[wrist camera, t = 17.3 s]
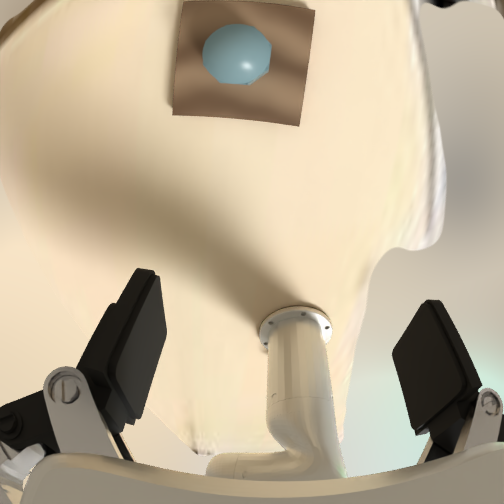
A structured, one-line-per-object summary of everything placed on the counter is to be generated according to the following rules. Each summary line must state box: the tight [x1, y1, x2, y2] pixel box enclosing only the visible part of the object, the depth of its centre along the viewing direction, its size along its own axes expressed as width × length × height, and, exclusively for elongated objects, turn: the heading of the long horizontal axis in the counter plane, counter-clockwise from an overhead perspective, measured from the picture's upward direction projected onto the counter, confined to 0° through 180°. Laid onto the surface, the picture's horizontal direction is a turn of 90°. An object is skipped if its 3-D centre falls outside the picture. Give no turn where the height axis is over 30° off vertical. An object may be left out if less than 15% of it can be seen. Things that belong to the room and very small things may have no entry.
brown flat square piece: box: [172, 1, 315, 126], centre depth 25 cm, size 14×14×2 cm
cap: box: [202, 24, 272, 85], centre depth 23 cm, size 6×6×5 cm
